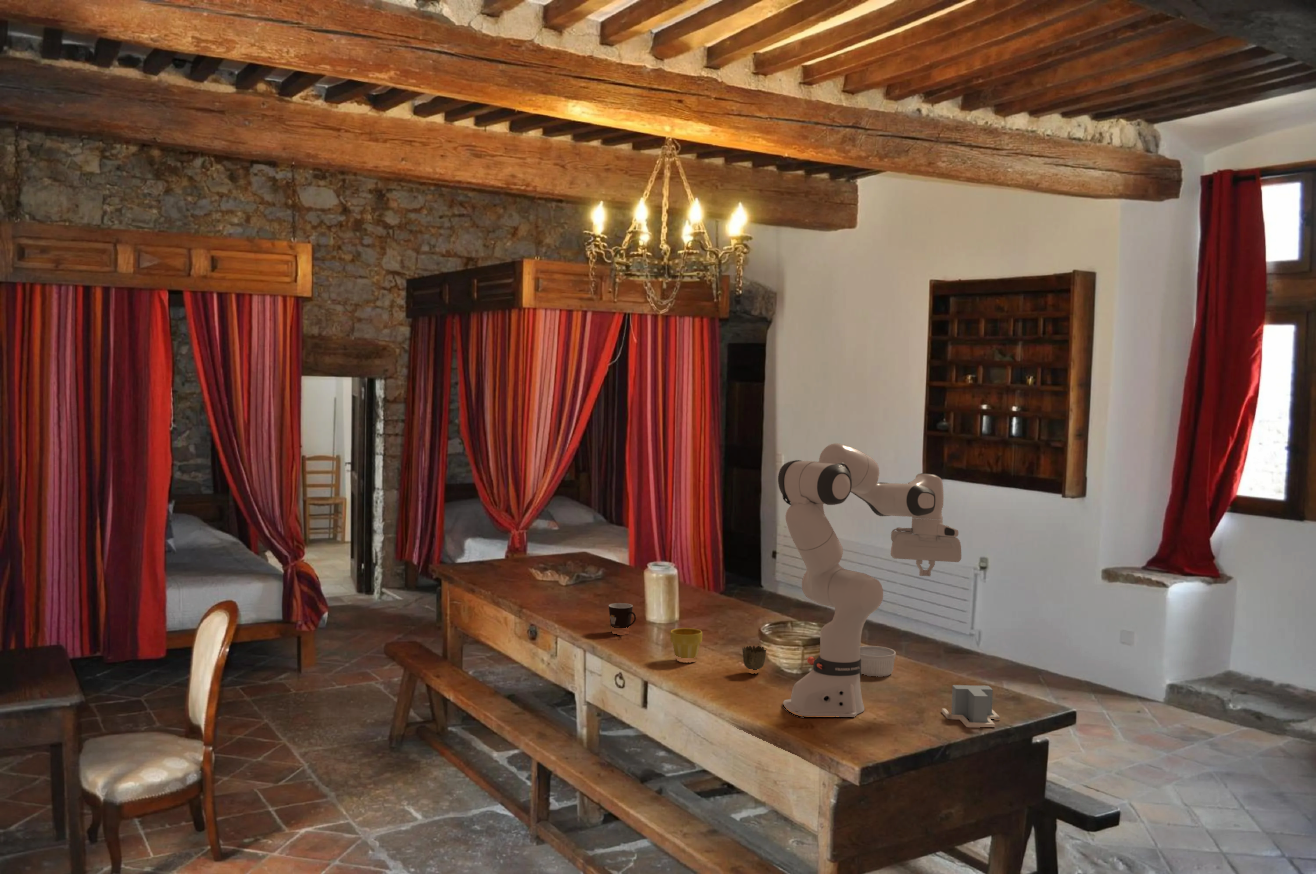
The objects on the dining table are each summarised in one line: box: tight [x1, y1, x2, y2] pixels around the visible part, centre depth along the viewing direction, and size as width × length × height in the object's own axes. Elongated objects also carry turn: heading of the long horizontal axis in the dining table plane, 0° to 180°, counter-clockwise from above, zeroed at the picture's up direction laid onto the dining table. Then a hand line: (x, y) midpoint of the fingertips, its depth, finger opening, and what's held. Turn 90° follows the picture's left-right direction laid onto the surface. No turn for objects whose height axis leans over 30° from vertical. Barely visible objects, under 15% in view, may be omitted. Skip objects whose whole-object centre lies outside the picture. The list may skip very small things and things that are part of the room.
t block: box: [951, 684, 993, 723], centre depth 292 cm, size 10×10×8 cm
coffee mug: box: [608, 602, 637, 628], centre depth 382 cm, size 12×9×10 cm
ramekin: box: [860, 645, 897, 678], centre depth 338 cm, size 13×13×7 cm
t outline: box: [941, 708, 1001, 728], centre depth 292 cm, size 14×13×1 cm
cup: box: [742, 645, 767, 670], centre depth 334 cm, size 8×7×8 cm
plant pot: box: [669, 627, 703, 658], centre depth 347 cm, size 10×10×10 cm
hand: (924, 576), depth 316 cm, fingers closed
